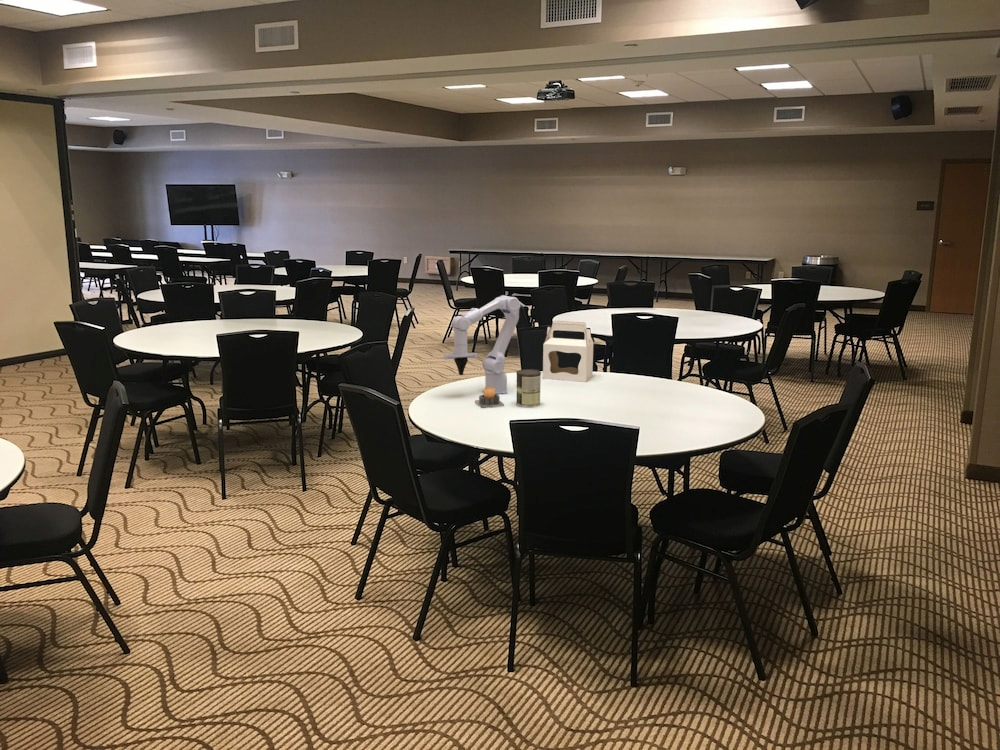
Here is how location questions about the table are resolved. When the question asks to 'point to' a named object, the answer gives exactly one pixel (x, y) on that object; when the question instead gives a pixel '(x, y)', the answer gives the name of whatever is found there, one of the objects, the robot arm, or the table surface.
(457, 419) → the table surface
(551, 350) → the gable box
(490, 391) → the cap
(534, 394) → the coffee can
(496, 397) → the dark grey low piece
